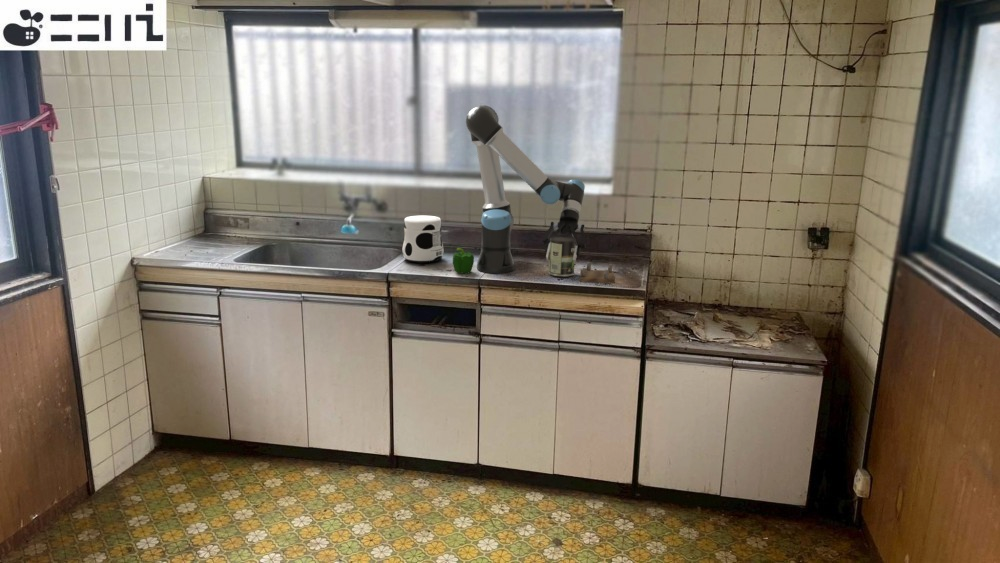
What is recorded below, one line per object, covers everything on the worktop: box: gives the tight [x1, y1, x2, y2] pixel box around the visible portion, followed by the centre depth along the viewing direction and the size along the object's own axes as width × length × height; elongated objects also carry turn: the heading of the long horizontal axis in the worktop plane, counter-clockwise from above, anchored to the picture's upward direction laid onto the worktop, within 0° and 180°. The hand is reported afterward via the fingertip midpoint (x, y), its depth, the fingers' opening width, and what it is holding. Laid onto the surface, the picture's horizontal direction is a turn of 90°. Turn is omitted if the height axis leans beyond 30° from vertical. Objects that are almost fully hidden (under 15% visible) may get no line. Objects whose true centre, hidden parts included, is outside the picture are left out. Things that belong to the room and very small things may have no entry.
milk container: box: [401, 214, 445, 264], centre depth 300 cm, size 17×17×18 cm
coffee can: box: [548, 235, 576, 277], centre depth 281 cm, size 10×10×14 cm
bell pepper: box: [452, 247, 475, 275], centre depth 282 cm, size 8×8×10 cm
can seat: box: [579, 261, 616, 284], centre depth 278 cm, size 13×13×5 cm
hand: (560, 260), depth 278 cm, fingers closed on coffee can, 10 cm apart
